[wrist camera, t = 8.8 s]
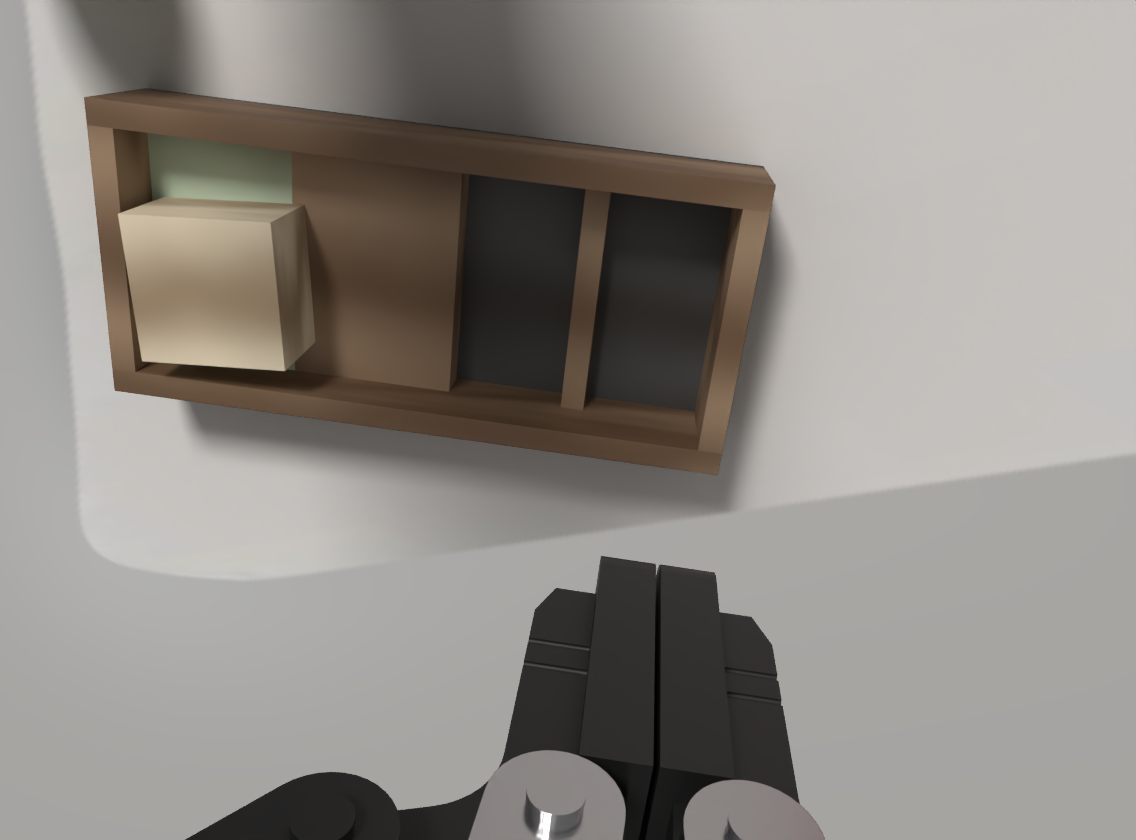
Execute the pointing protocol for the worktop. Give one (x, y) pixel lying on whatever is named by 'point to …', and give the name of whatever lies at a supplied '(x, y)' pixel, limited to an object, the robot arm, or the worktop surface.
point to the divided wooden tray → (461, 274)
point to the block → (219, 282)
